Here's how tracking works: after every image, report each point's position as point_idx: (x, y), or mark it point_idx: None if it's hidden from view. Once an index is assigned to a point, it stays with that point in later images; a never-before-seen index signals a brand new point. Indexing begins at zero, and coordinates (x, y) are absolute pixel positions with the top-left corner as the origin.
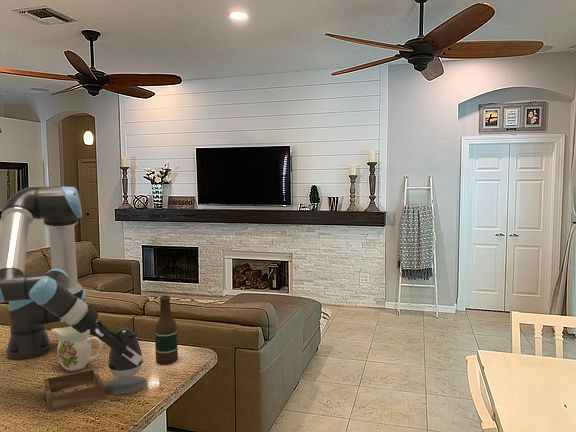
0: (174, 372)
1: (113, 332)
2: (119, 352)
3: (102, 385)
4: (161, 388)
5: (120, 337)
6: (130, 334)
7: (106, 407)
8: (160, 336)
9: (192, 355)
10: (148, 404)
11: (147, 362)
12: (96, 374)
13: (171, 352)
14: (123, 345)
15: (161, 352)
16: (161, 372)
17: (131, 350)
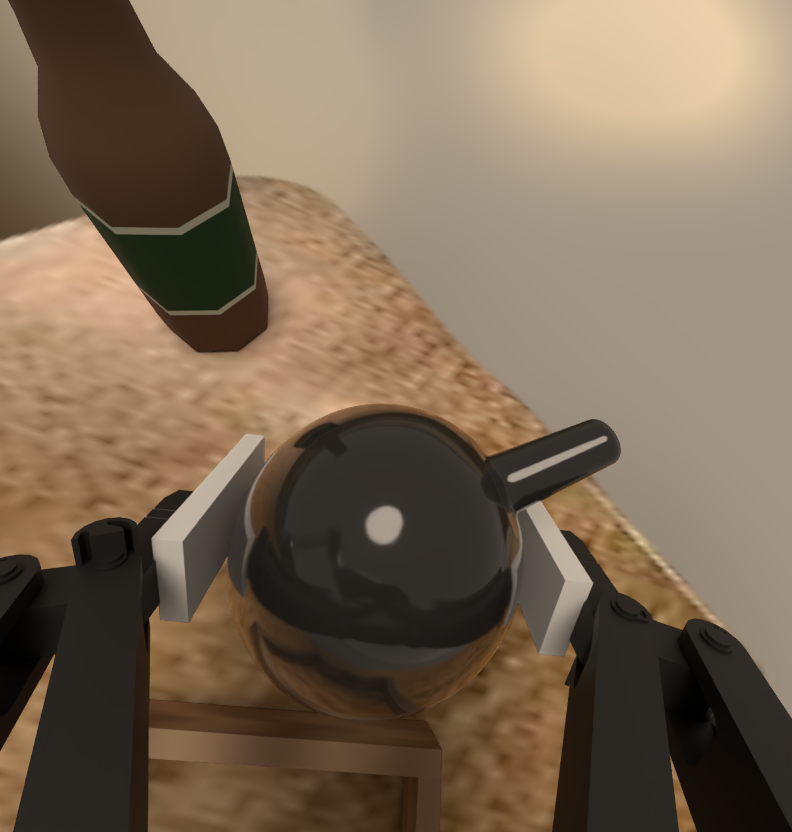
0: (362, 342)
1: (20, 596)
2: (713, 721)
3: (441, 762)
4: (481, 443)
5: (497, 630)
6: (540, 482)
7: (541, 744)
8: (192, 231)
9: (250, 227)
10: (602, 546)
11: (156, 380)
12: (222, 751)
13: (257, 274)
14: (718, 661)
15: (229, 306)
16: (322, 379)
17: (562, 540)
